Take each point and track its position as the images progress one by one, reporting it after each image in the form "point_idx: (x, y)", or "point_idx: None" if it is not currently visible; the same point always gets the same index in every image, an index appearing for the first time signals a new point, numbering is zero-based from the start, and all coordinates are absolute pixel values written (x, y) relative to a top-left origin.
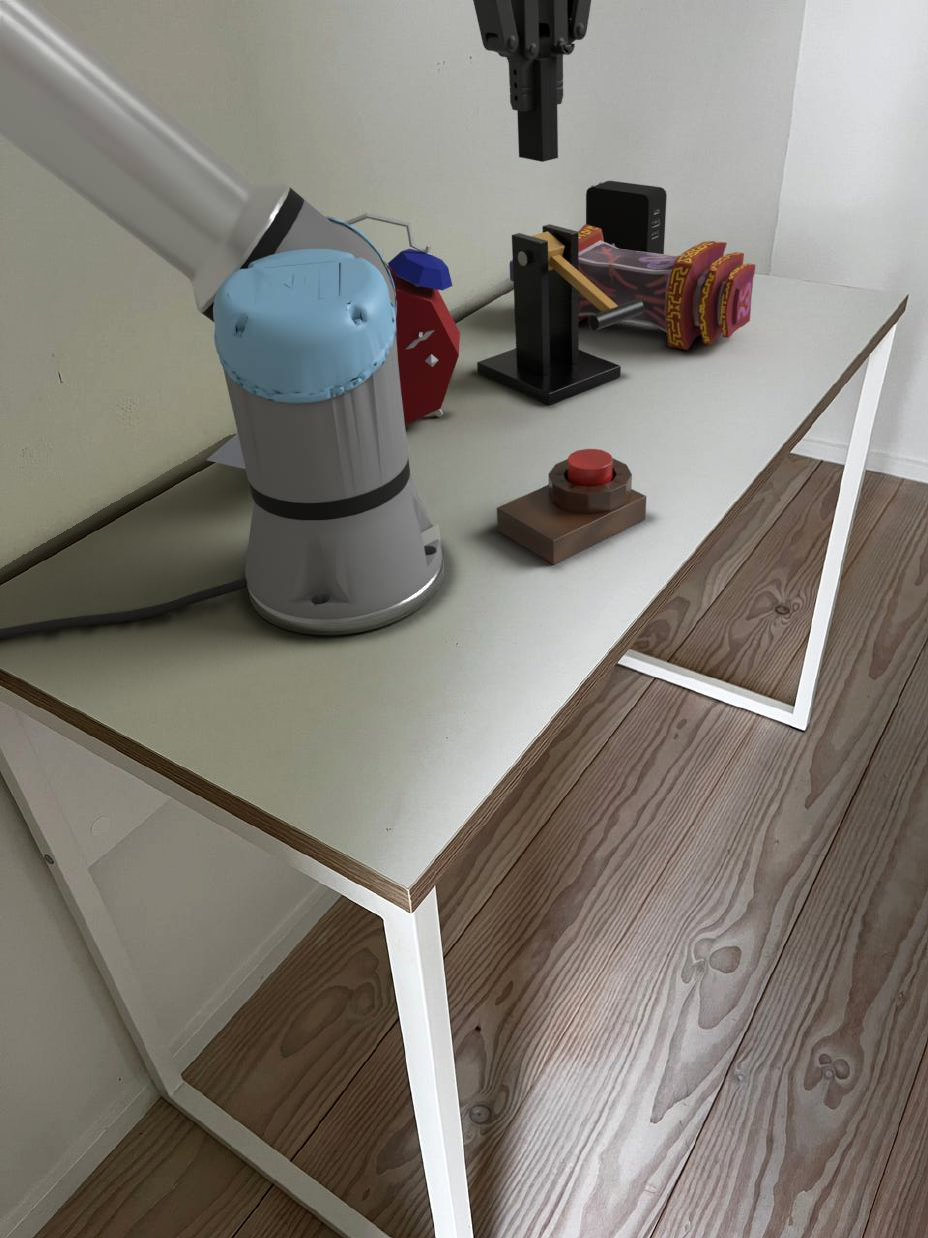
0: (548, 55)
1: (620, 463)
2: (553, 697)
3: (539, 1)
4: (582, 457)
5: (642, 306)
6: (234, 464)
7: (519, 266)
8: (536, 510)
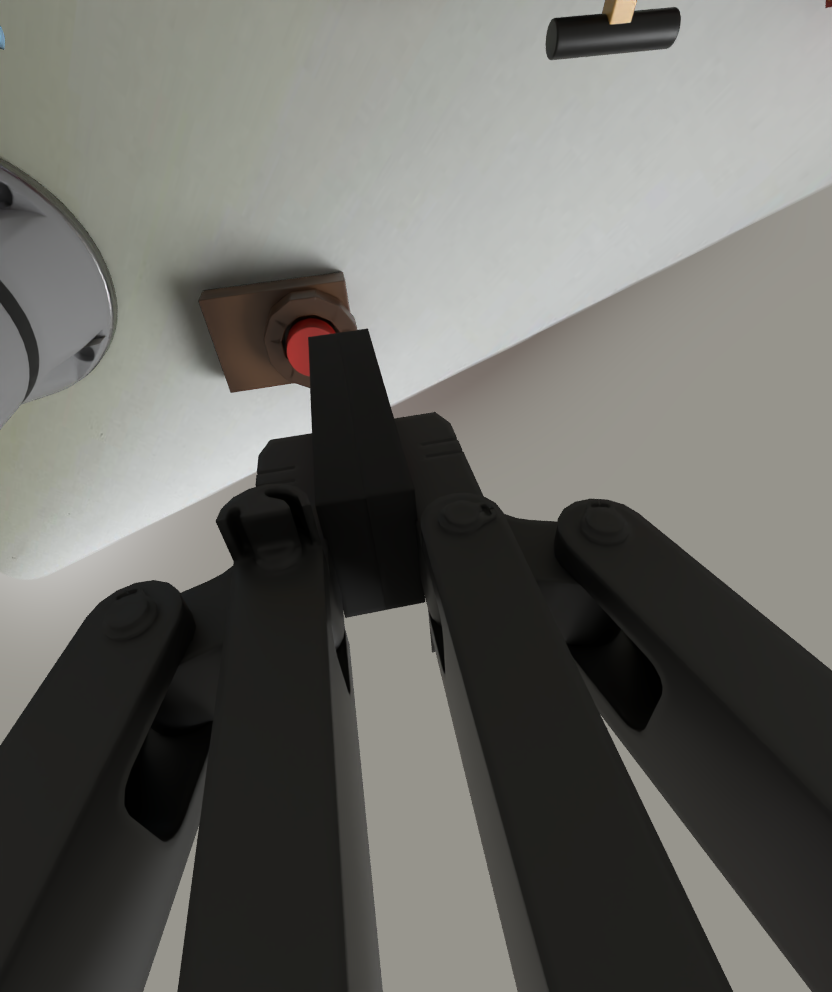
0: (418, 576)
1: None
2: (161, 511)
3: (467, 736)
4: (307, 345)
5: (666, 47)
6: None
7: None
8: (240, 333)
